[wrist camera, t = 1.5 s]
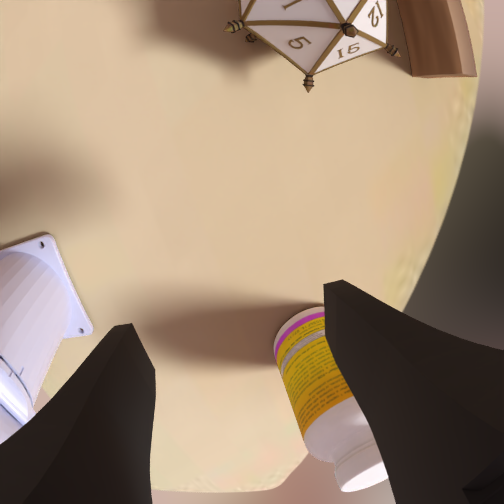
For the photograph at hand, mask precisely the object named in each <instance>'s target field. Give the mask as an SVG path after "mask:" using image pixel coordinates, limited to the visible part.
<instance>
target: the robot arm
mask: <svg viewBox="0 0 504 504" xmlns="http://www.w3.org/2000/svg"><path fill="white" fill-rule="evenodd" d="M41 241H42V242H43V243H44V246H42V245H41ZM323 285H324V315H325V337H326V340H327V343H328V345H329V348H330V351H331V353H332V355H333V358H334V360H335V363H336V365H337V367H338V368H339V370H340V372H341V374H342V376H343V378H344V379H345V381H346V383H347V385H348V387H349V388H350V390H351V392H352V394H353V396H354V398H355V399H356V401H357V403H358V405H359V407H360V408H361V410H362V412H363V414H364V416H365V418H366V420H367V422H368V424H369V426H370V428H371V431H372V433H373V436H374V439H375V441H376V444H377V446H378V449H379V452H380V454H381V457H382V460H383V463H384V466H385V469H386V472H387V475H388V478H389V481H390V484H391V488H392V491H393V495H394V497H395V502H396V504H504V350H500V349H495V348H492V347H488V346H484V345H481V344H477V343H474V342H471V341H467V340H464V339H461V338H459V337H456V336H453V335H451V334H448V333H446V332H443V331H440V330H437V329H436V328H433V327H431V326H429V325H427V324H424V323H422V322H420V321H418V320H416V319H414V318H412V317H410V316H408V315H406V314H404V313H402V312H400V311H398V310H396V309H394V308H393V307H391V306H389V305H387V304H385V303H383V302H382V301H380V300H378V299H376V298H375V297H373V296H371V295H369V294H368V293H366V292H364V291H362V290H361V289H359V288H357V287H355V286H354V285H352V284H350V283H348V282H346V281H344V280H339V281H335V282H331V283H327V284H323ZM80 328H82V329H83V330H81V329H80ZM93 329H94V328H93V325H92V323H91V321H90V320H89V318H88V316H87V314H86V312H85V310H84V308H83V305H82V303H81V301H80V299H79V297H78V295H77V293H76V291H75V288H74V286H73V284H72V282H71V279H70V277H69V275H68V272H67V270H66V268H65V265H64V263H63V260H62V258H61V255H60V253H59V250H58V248H57V245H56V242H55V240H54V238H53V237H52V236H51V235H49V234H46V235H43V236H40V237H37V238H34V239H31V240H28V241H25V242H22V243H19V244H17V245H14V246H11V247H8V248H5V249H3V250H0V504H152V497H151V483H150V451H151V440H152V429H153V420H154V410H155V400H156V381H155V368H154V366H153V365H152V363H151V361H150V359H149V357H148V355H147V353H146V351H145V349H144V347H143V345H142V343H141V341H140V339H139V337H138V335H137V333H136V331H135V328H134V326H133V324H132V323H130V324H124V325H118V326H114V327H113V328H112V329H111V330H110V331H109V332H108V333H107V334H106V336H105V337H104V338H103V339H102V340H101V341H100V342H99V344H98V345H97V346H96V347H95V348H94V350H93V351H92V352H91V353H90V355H89V356H88V357H87V358H86V359H85V361H84V362H83V363H82V364H81V365H80V367H79V368H78V369H77V370H76V371H75V373H74V374H73V375H72V376H71V377H70V378H69V379H68V381H67V382H66V383H65V384H64V385H63V386H62V387H61V389H60V390H59V391H58V392H57V393H56V394H55V395H54V397H53V398H52V399H51V400H50V401H49V402H48V403H47V404H46V405H45V406H44V407H43V408H42V409H41V410H40V411H39V412H38V413H37V414H36V413H35V411H34V410H33V406H34V403H35V400H36V398H37V396H38V393H39V391H40V388H41V386H42V383H43V381H44V378H45V376H46V373H47V371H48V369H49V366H50V364H51V362H52V360H53V357H54V355H55V353H56V351H57V349H58V347H59V344H60V342H61V340H62V339H65V338H72V337H79V336H85V335H90V334H92V332H93Z"/></svg>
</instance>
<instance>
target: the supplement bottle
mask: <svg viewBox="0 0 504 504" xmlns="http://www.w3.org/2000/svg"><path fill="white" fill-rule="evenodd" d="M274 356H275V359H276V362H277V365H278V368H279V371H280V374H281V376H282V379H283V382H284V385H285V388H286V391H287V394H288V397H289V400H290V402H291V405H292V408H293V411H294V414H295V417H296V420H297V423H298V426H299V429H300V431H301V434H302V437H303V440H304V443H305V445H306V448H307V450H308V451H309V453H310V454H311V455H312V456H313V457H315V458H317V459H319V460H321V461H325V462H334V464H335V478H336V480H337V483H338V486H339V488H340V490H342V491H344V492H352V491H357V490H360V489H364V488H367V487H370V486H372V485H375V484H377V483H379V482H381V481H383V480H385V479H387V478H388V475H387V472H386V469H385V466H384V463H383V460H382V457H381V454H380V452H379V449H378V446H377V444H376V441H375V439H374V436H373V433H372V431H371V428H370V426H369V424H368V422H367V420H366V418H365V416H364V414H363V412H362V410H361V408H360V407H359V405H358V403H357V401H356V399H355V398H354V396H353V394H352V392H351V390H350V388H349V387H348V385H347V383H346V381H345V379H344V378H343V376H342V374H341V372H340V370H339V368H338V367H337V365H336V363H335V360H334V358H333V355H332V353H331V351H330V348H329V345H328V343H327V340H326V337H325V315H324V307H314V308H310V309H307V310H304V311H302V312H300V313H298V314H296V315H295V316H293V317H292V318H291V319H289V320H288V321H287V322H286V323H285V324H284V325H283V326H282V327H281V329H280V330H279V332H278V334H277V336H276V338H275V341H274Z"/></svg>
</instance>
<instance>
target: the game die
mask: <svg viewBox="0 0 504 504" xmlns="http://www.w3.org/2000/svg"><path fill="white" fill-rule="evenodd" d="M238 4H239V21H235V20H233V22H228V25H227V26H226V28H225V29H224V31H225V32H231V33H234V32H236V31H238V30H241V29H240V28H242V27H243V28H245V29H246V30H248V31H249V32H250V34H248V35H247V36H246V41H245V42H254V40H256V38H259V39H260V40H262V41H263V42H264V43H266V44H267V45H268V46H270V47H271V48H272V49H274V50H275V51H276V52H278V53H279V54H280V55H282V56H283V57H284V58H286V59H287V60H288V61H289V62H291V63H292V64H293V65H294V66H296V67H297V68H298V69H299V70H300V71H302V72H303V73H304V74H305V75H306V77H305V79H304V80H303V81H304V84H303V85H304V87H305V88H306V90H307V92H308V93H309V91H310V90H311V88H312V87H313V86H314V85H313V82H314V81H313V78H312V77H313V75H315V74H317V73H320V72H322V71H325V70H327V69H329V68H332V67H334V66H337V65H339V64H342V63H344V62H347V61H349V60H352V59H355V58H357V57H360V56H363V55H366V54H369V53H371V52H374V51H377V50H380V49H383V48H384V49H386V50H387V53H390V54H391V56H397V57H401V56H400V54H399V52H398V48H395V47H394V46H393V45H389V44H388V0H238Z"/></svg>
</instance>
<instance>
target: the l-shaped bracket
mask: <svg viewBox="0 0 504 504" xmlns="http://www.w3.org/2000/svg"><path fill="white" fill-rule="evenodd" d="M397 4H398V7H399V11H400V15H401V19H402V23H403V28H404V32H405V37H406V42H407V47H408V52H409V58H410V64H411V70H412V77H421V78H442V77H477V73H476V66H475V60H474V55H473V49H472V44H471V39H470V35H469V30H468V26H467V22H466V18H465V14H464V11H463V7H462V4H461V1H460V0H397Z"/></svg>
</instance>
